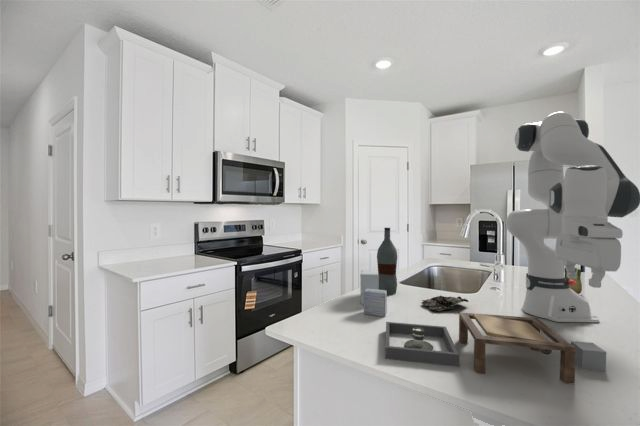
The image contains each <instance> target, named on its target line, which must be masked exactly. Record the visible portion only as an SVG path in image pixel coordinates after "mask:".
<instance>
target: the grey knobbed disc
mask: <svg viewBox="0 0 640 426" xmlns="http://www.w3.org/2000/svg"><path fill="white" fill-rule="evenodd" d="M412 333H413V335H412V338H413V339H410V340H407V341H405V342H404V347H405V348H414V349H424V350H434V345H432V344H431V343H430V342H428V341H425V340H424V338H425V336H424V334H425V332H424V329H422V328H419V327H414V328H413V330H412Z"/></svg>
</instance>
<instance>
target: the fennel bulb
mask: <svg viewBox="0 0 640 426" xmlns="http://www.w3.org/2000/svg"><path fill="white" fill-rule="evenodd" d="M575 271H576V272H577V279H570V278H568V277H567V271H566V268H565V267H564V277H565V278H567V279H569V280H574V281H576V282H577V285H576V286H571V285H569V286H570V288H571V289H572V290H573V291H575V292H576V293H577V294H579V295H580V294H581V293H582V289H583V286H582V284H583V283H582V278H581V276H582V269H581V268H577V267H575Z"/></svg>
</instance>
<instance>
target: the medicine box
mask: <svg viewBox="0 0 640 426" xmlns="http://www.w3.org/2000/svg"><path fill="white" fill-rule="evenodd" d="M387 298H388V295H387V291H386V290H377V289H366V290H365V291H364V304H363V315H369V316H376V317H377V316H379V317H386V315H387V313H388V312H387V311H388V310H387V309H388V307H387V306H388V305H387Z"/></svg>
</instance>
